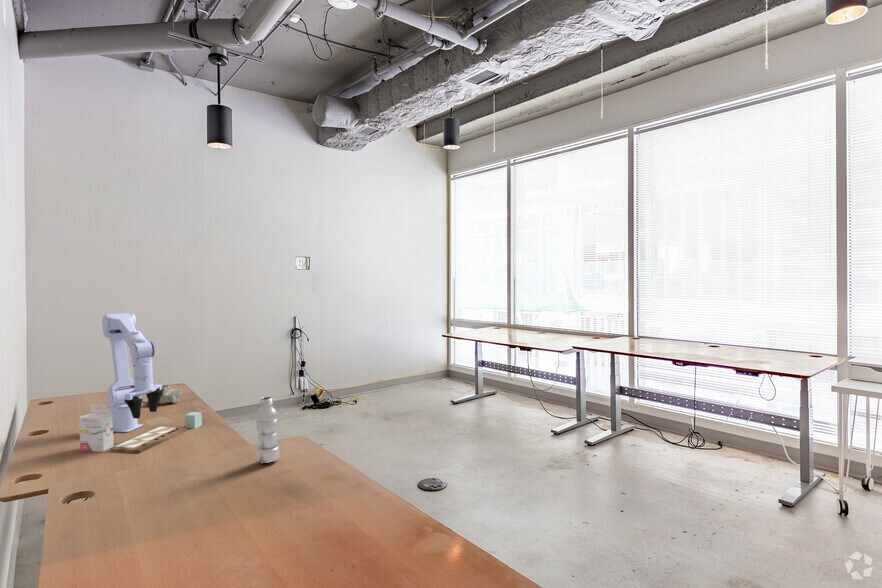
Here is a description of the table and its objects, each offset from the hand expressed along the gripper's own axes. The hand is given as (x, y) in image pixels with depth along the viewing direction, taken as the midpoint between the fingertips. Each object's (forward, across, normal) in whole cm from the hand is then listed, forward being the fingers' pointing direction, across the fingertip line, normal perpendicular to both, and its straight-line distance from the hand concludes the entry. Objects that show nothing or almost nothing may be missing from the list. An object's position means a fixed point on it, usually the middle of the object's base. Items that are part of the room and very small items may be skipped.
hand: (145, 414), depth 171 cm
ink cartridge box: (+10, -9, +11) cm, 17 cm away
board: (+9, +1, -1) cm, 10 cm away
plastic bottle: (+10, -12, -53) cm, 55 cm away
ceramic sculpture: (+10, +45, +30) cm, 55 cm away
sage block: (+10, +17, -6) cm, 20 cm away
